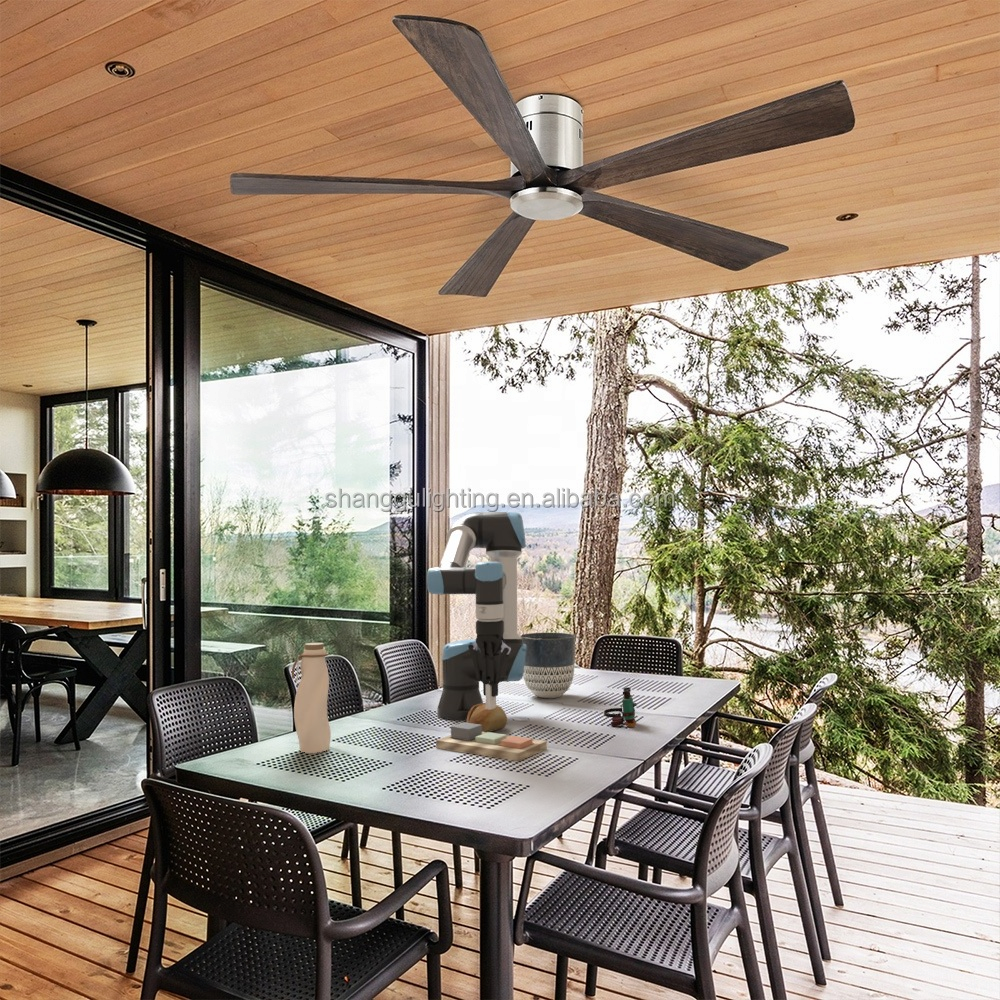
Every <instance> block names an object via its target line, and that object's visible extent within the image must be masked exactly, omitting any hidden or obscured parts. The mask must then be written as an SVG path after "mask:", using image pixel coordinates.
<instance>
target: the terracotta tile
mask: <svg viewBox="0 0 1000 1000" xmlns="http://www.w3.org/2000/svg"><path fill="white" fill-rule="evenodd" d="M510 736H511V737H509V738H506V739H504V740H501V746H503V747H509V748H516V749H523V748H525V747H528V746H530V745H532V739H533V738H531V737H524V736H523V737H522V736H517V735H510Z"/></svg>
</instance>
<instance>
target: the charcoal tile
mask: <svg viewBox="0 0 1000 1000" xmlns="http://www.w3.org/2000/svg"><path fill="white" fill-rule="evenodd" d="M450 735H451V738H455V739H462V740H465V741H467V740H468V741H470V740H472V739H475V737H476V736H479V735H482V725H480V724H473V723H467V721H466V722H465V721H464V722H461V723H458V724H454V725H451V726H450Z"/></svg>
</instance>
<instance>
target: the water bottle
mask: <svg viewBox="0 0 1000 1000" xmlns="http://www.w3.org/2000/svg"><path fill="white" fill-rule="evenodd" d="M325 649H326V648H325V647H324V642H308V643H307V642H306V643H304V649H303V652H302V653H301V654H297V658H296V659H295V661H294V662H293V665H292V669H291V678H292V679H295V668H296V679H295V683H296V684H297V683H298V682H299V684H298V685H297V689H296V693H295V697H294V707H293V718H294V719H293V720H294V726H295V730H296V735H297V739H298V743H299V752H300V751H301V752H300V753H302V752H305V753H304V754H318V753H317V752H320V753H323V752H322V751H325V752H327V751H329V750H330V747H331V746H330V745H331V735H332V732H331V725H330V722H329V719H328V697H329V687H330V678H329V670H328V665H327V663H326V662H327V661H326V657H327V656H329V652H326V650H325ZM300 659H301V661H300ZM299 665H300V666H299ZM299 668H300V669H299ZM299 670H300V674H301V678H300V681H299ZM328 749H329V750H328ZM326 750H327V751H326Z"/></svg>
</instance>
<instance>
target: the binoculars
mask: <svg viewBox="0 0 1000 1000" xmlns="http://www.w3.org/2000/svg"><path fill="white" fill-rule="evenodd" d="M631 691H632V690H631V687H629V686H628V687H624V688H623V691H622V696H623V698H622V705H621V706H620V707H612V708H606V709H605V710H603V716H604V717H606V718H611V721H610V724H611V725H610V726H611V727H617V726H621V725H622V726H626V727H628V728H635V727H636V721H637V720H636V719H635V718H636V717H635V714H636V713H635V712H636V710H635V707H636V706H638V705H637V703H636V702H634V699H633V695H632V694H631ZM612 712H613V713H612ZM614 712H618V713H614Z"/></svg>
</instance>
